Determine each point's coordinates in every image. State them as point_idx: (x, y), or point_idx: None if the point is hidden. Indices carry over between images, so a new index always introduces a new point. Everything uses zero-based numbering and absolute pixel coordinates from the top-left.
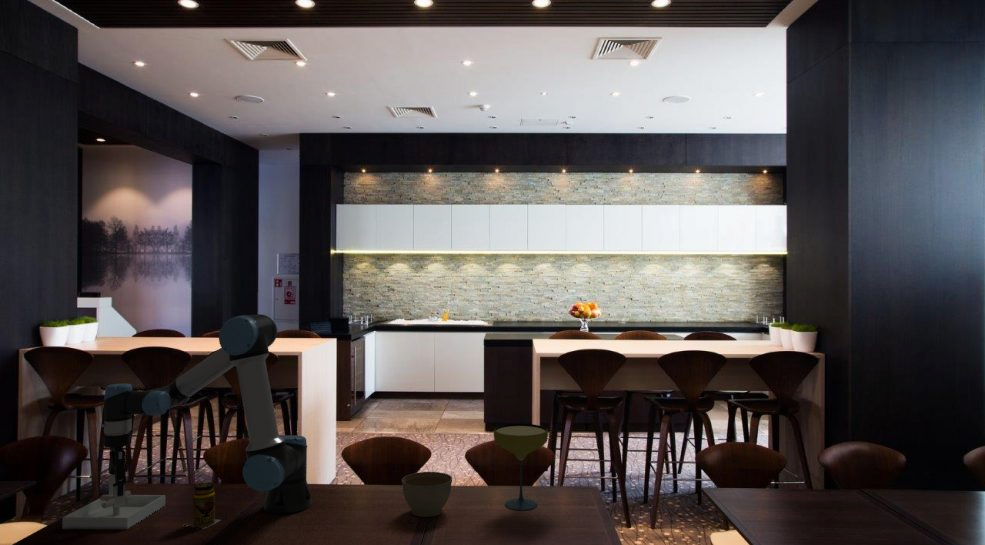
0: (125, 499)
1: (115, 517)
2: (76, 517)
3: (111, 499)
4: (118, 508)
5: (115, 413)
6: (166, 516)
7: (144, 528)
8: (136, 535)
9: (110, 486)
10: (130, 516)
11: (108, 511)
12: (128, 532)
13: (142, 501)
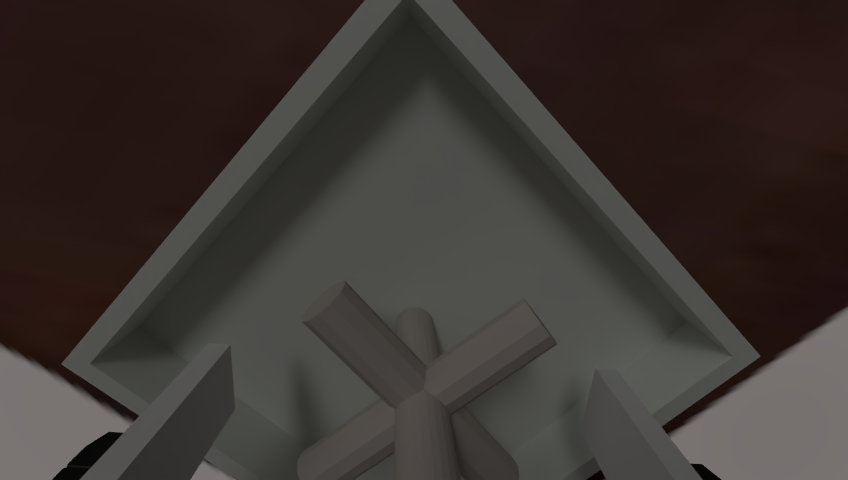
0: (528, 361)
1: (680, 409)
2: None
3: (467, 452)
4: (434, 342)
5: None
6: (673, 57)
7: (773, 237)
8: (842, 297)
9: (188, 470)
10: (740, 333)
11: (305, 346)
12: (752, 319)
13: (291, 144)
